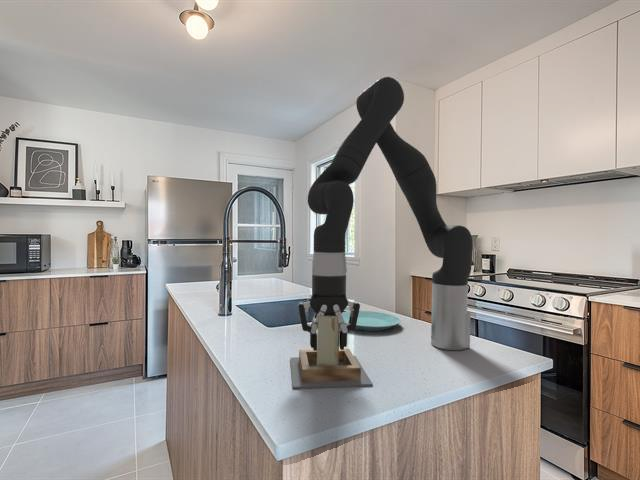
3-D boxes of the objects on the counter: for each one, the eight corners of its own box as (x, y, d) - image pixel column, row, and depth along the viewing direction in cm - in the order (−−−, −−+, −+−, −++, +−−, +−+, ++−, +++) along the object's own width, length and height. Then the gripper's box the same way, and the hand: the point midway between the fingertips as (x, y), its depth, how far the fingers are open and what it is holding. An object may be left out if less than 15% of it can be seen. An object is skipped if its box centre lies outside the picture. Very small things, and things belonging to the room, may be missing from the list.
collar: (348, 358, 81) (349, 348, 81) (360, 380, 69) (360, 367, 69) (299, 360, 80) (299, 349, 80) (302, 382, 68) (302, 369, 68)
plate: (363, 314, 130) (363, 307, 130) (414, 326, 114) (414, 318, 114) (321, 324, 115) (321, 316, 115) (372, 339, 99) (372, 330, 99)
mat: (355, 357, 83) (355, 355, 83) (372, 385, 68) (372, 383, 68) (290, 359, 82) (290, 357, 82) (292, 389, 66) (292, 387, 66)
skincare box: (336, 375, 71) (337, 318, 71) (315, 374, 72) (317, 316, 72) (339, 364, 77) (340, 311, 77) (320, 362, 78) (322, 310, 78)
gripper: (357, 270, 79) (356, 342, 79) (295, 270, 77) (295, 344, 77) (365, 274, 71) (364, 354, 72) (297, 274, 70) (296, 356, 70)
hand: (328, 348), depth 75 cm, fingers open, 5 cm apart
